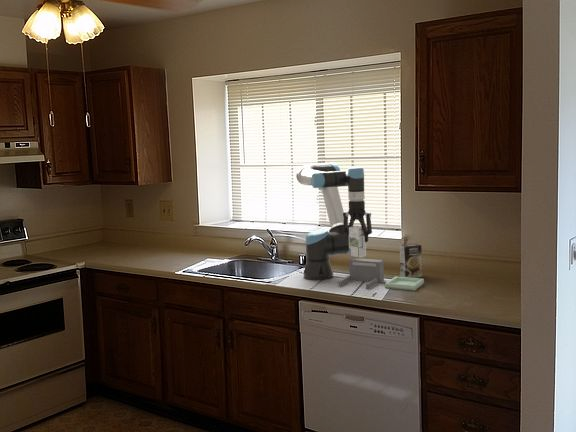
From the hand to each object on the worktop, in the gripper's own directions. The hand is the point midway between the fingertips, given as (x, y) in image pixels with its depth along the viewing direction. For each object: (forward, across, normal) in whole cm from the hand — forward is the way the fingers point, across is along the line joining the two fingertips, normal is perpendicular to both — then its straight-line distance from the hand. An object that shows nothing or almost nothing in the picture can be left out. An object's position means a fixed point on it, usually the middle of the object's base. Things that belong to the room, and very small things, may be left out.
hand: (357, 248), depth 289 cm
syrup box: (+4, 0, 0) cm, 4 cm away
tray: (+18, +21, +5) cm, 28 cm away
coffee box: (+18, +18, +23) cm, 34 cm away
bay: (+18, 0, +2) cm, 18 cm away
